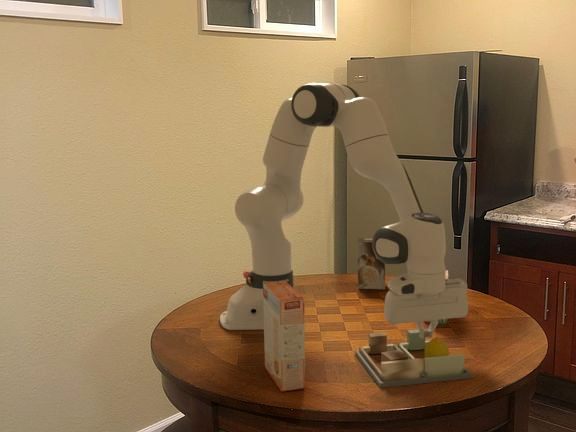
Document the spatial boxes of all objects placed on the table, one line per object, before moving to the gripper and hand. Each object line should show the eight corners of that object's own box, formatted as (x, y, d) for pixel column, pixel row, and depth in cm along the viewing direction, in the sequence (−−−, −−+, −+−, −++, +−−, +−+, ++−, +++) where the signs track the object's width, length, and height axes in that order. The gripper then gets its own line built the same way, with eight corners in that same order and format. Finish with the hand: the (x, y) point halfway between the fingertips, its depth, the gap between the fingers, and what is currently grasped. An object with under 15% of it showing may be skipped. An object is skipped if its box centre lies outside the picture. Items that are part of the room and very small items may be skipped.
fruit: (452, 373, 144) (453, 339, 143) (429, 375, 143) (430, 341, 142) (443, 363, 149) (443, 331, 148) (420, 365, 148) (421, 333, 147)
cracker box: (307, 389, 138) (305, 296, 134) (280, 393, 136) (278, 299, 132) (288, 364, 151) (286, 279, 147) (264, 367, 149) (261, 282, 145)
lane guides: (380, 387, 138) (380, 383, 137) (355, 354, 156) (355, 350, 155) (471, 377, 141) (471, 373, 141) (437, 346, 159) (437, 343, 159)
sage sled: (425, 378, 141) (425, 359, 140) (397, 348, 158) (397, 331, 158) (463, 374, 143) (464, 355, 142) (431, 345, 160) (431, 328, 159)
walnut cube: (390, 378, 142) (390, 359, 141) (381, 371, 146) (381, 352, 145) (408, 375, 144) (408, 356, 143) (398, 367, 148) (398, 349, 147)
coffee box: (385, 284, 214) (385, 238, 211) (385, 289, 208) (385, 242, 205) (358, 283, 215) (358, 237, 213) (357, 289, 209) (357, 241, 206)
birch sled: (382, 383, 139) (382, 363, 138) (358, 352, 157) (358, 334, 156) (422, 379, 141) (422, 359, 140) (393, 348, 158) (394, 331, 157)
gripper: (461, 274, 155) (460, 328, 157) (381, 281, 151) (382, 336, 154) (473, 281, 149) (472, 337, 151) (390, 288, 145) (391, 346, 148)
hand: (426, 337), depth 152 cm, fingers closed
